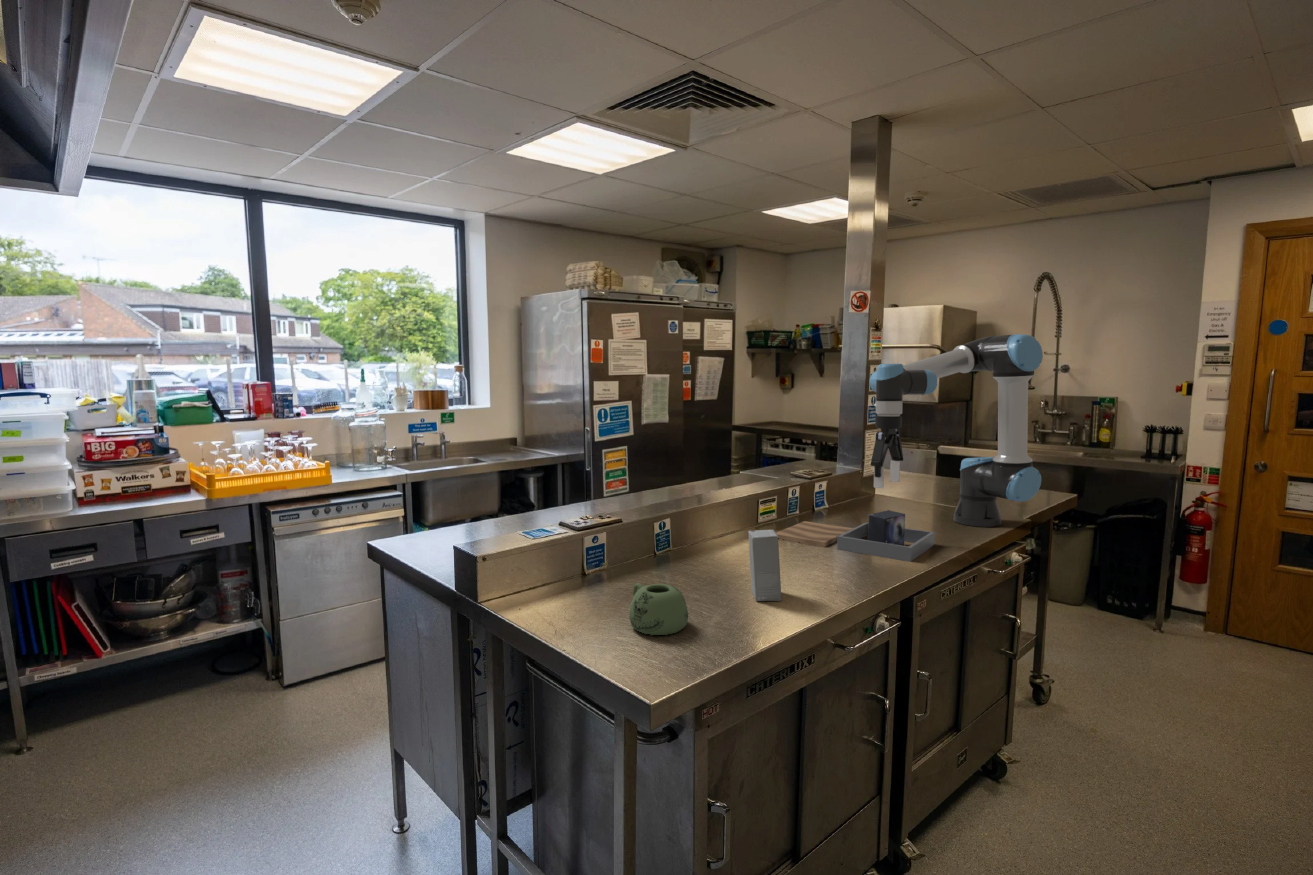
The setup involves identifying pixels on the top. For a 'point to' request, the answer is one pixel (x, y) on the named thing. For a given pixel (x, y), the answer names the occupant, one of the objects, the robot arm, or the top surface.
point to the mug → (658, 609)
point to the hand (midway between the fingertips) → (886, 484)
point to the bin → (856, 544)
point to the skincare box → (764, 565)
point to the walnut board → (812, 533)
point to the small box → (887, 527)
